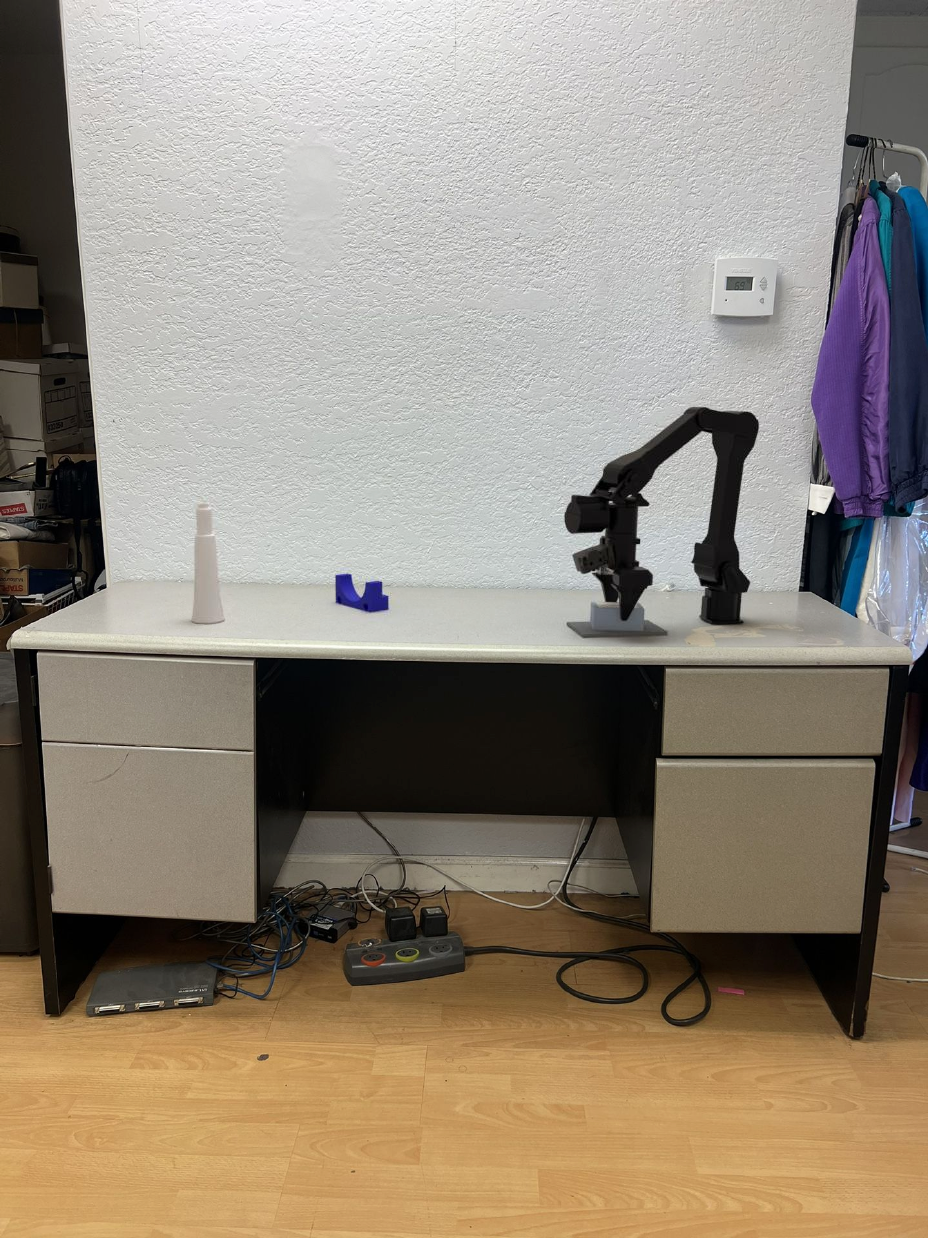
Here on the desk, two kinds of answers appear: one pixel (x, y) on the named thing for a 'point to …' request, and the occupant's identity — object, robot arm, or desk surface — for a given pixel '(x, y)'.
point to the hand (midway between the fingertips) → (617, 616)
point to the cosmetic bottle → (206, 571)
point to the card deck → (615, 617)
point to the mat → (587, 631)
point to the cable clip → (349, 597)
